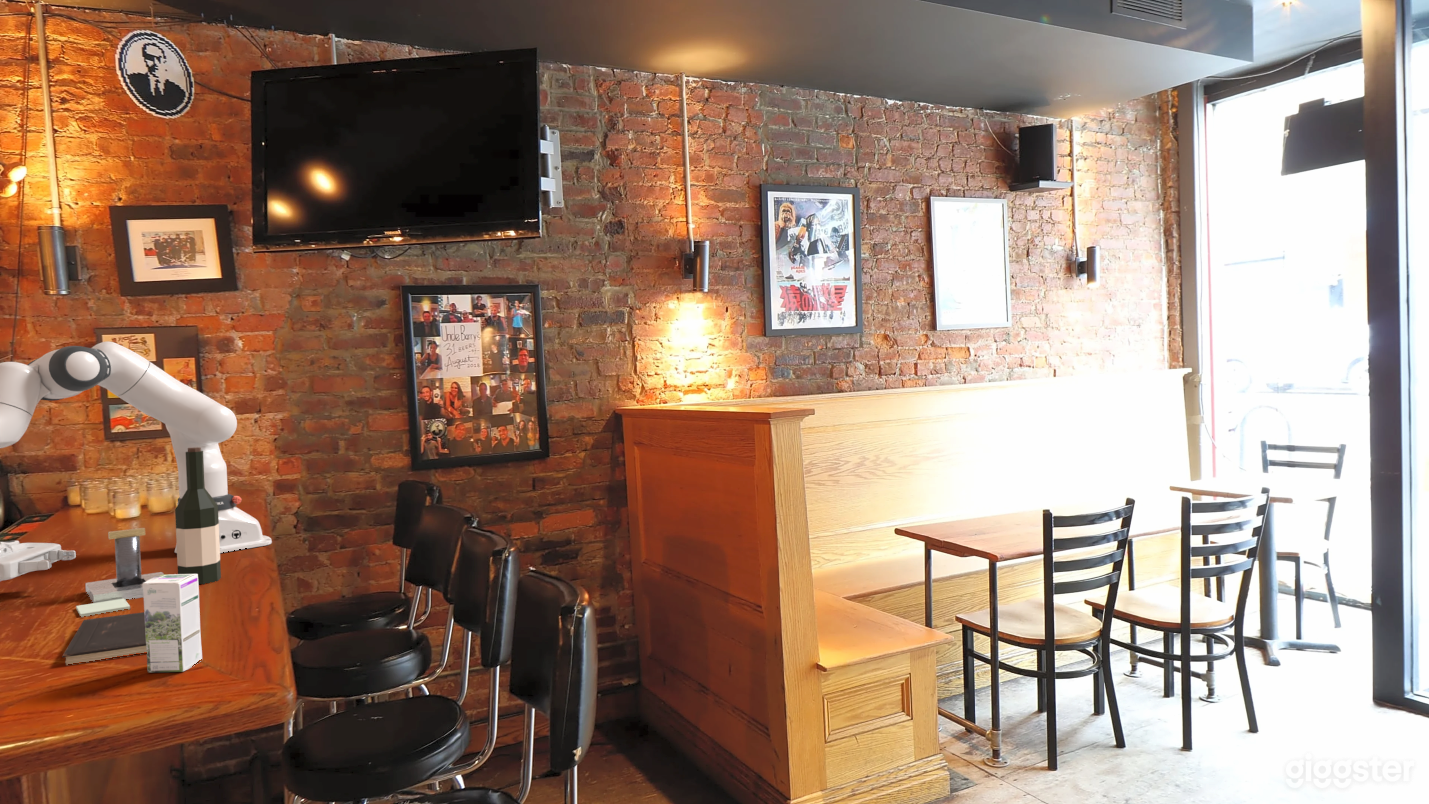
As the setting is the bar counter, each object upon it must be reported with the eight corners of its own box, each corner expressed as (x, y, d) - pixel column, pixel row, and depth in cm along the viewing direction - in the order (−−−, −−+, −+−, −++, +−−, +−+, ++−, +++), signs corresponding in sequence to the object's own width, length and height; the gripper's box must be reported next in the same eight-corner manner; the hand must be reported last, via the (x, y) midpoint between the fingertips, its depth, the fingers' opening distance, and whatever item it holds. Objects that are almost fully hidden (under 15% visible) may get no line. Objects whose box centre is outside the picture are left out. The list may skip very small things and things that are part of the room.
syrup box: (203, 660, 142) (199, 571, 141) (182, 673, 136) (178, 581, 135) (168, 661, 141) (163, 572, 141) (145, 674, 136) (141, 582, 135)
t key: (145, 587, 190) (142, 526, 190) (149, 591, 187) (146, 529, 186) (110, 593, 186) (107, 530, 185) (113, 597, 183) (110, 533, 182)
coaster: (124, 601, 179) (124, 598, 179) (130, 609, 173) (130, 606, 173) (76, 608, 174) (76, 605, 174) (80, 617, 168) (80, 614, 168)
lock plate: (162, 580, 196) (161, 571, 196) (174, 592, 186) (173, 582, 186) (85, 592, 187) (85, 582, 187) (94, 605, 177) (93, 595, 177)
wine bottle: (229, 576, 199) (224, 445, 198) (204, 585, 191) (198, 449, 190) (195, 576, 200) (189, 446, 199) (169, 585, 192) (163, 449, 190)
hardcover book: (62, 669, 140) (62, 655, 140) (84, 632, 160) (83, 619, 160) (179, 652, 148) (178, 638, 148) (185, 618, 168) (185, 606, 168)
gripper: (-47, 558, 171) (33, 554, 173) (15, 539, 191) (86, 536, 193) (-46, 590, 171) (34, 586, 173) (16, 567, 191) (87, 564, 194)
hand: (62, 559), depth 184 cm, fingers open, 8 cm apart
